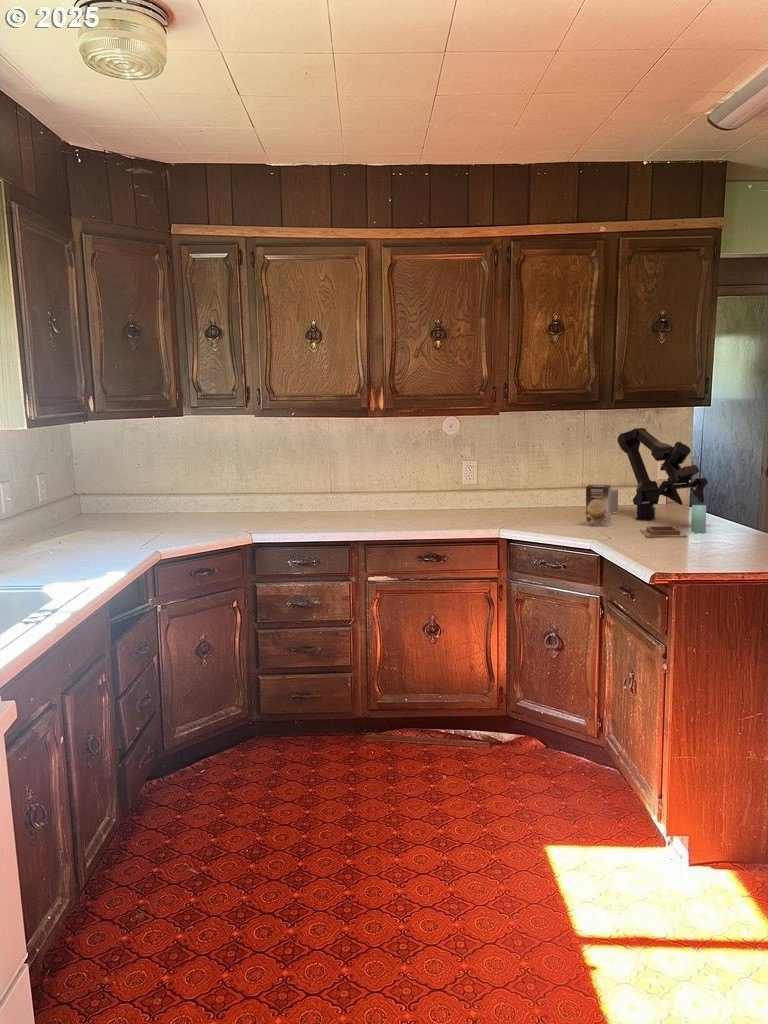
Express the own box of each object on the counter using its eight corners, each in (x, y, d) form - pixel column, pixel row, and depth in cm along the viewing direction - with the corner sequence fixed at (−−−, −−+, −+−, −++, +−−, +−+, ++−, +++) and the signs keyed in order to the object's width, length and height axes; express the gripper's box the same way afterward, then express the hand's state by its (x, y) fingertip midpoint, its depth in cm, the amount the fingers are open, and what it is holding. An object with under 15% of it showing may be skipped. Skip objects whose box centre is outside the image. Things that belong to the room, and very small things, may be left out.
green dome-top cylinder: (690, 533, 285) (690, 506, 284) (692, 530, 290) (693, 504, 288) (704, 533, 283) (704, 507, 281) (706, 531, 287) (707, 505, 285)
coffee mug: (611, 514, 334) (611, 491, 332) (590, 512, 341) (590, 490, 339) (625, 510, 343) (625, 488, 342) (605, 508, 350) (605, 487, 349)
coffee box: (585, 526, 310) (584, 486, 307) (587, 523, 315) (587, 484, 313) (608, 526, 306) (608, 486, 303) (611, 524, 311) (610, 484, 309)
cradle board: (639, 531, 293) (639, 525, 293) (678, 530, 291) (678, 525, 291) (646, 538, 280) (646, 532, 279) (687, 537, 278) (687, 531, 277)
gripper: (662, 459, 289) (680, 491, 280) (705, 456, 293) (724, 488, 284) (650, 478, 297) (667, 510, 288) (692, 475, 302) (710, 506, 293)
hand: (692, 503), depth 288 cm, fingers open, 9 cm apart
